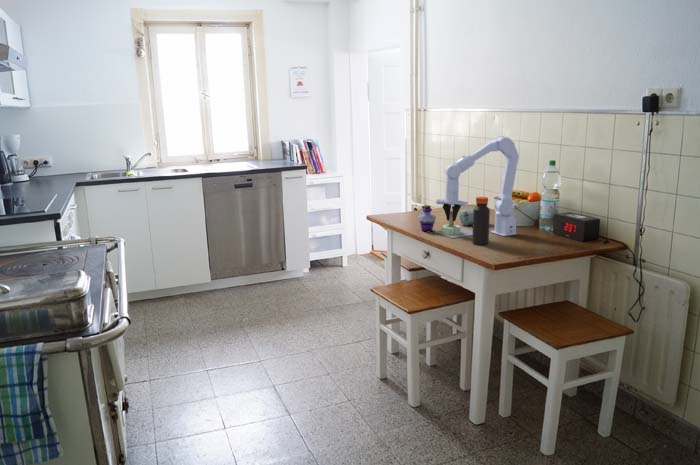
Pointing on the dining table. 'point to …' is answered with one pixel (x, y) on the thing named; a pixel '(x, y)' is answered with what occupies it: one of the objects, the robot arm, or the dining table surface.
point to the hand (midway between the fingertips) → (451, 220)
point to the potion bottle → (427, 219)
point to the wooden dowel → (451, 219)
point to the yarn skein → (466, 216)
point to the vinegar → (481, 222)
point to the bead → (451, 229)
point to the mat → (463, 233)
